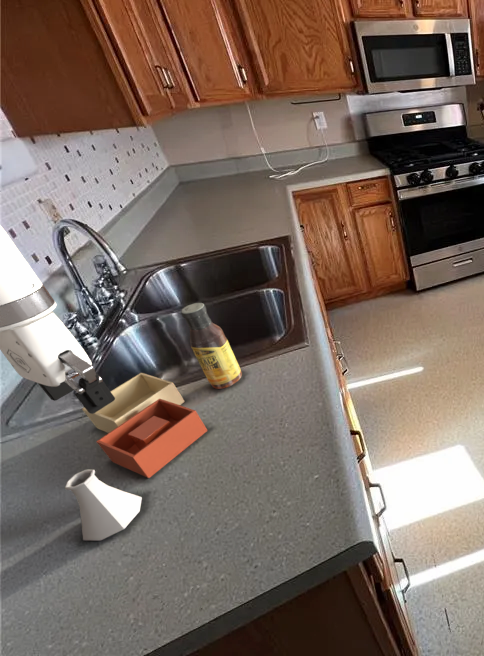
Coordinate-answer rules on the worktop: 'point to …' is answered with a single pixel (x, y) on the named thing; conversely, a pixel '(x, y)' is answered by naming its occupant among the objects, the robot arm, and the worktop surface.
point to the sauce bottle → (211, 348)
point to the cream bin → (133, 400)
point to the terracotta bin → (163, 447)
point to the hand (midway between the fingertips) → (84, 400)
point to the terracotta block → (149, 431)
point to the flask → (102, 506)
